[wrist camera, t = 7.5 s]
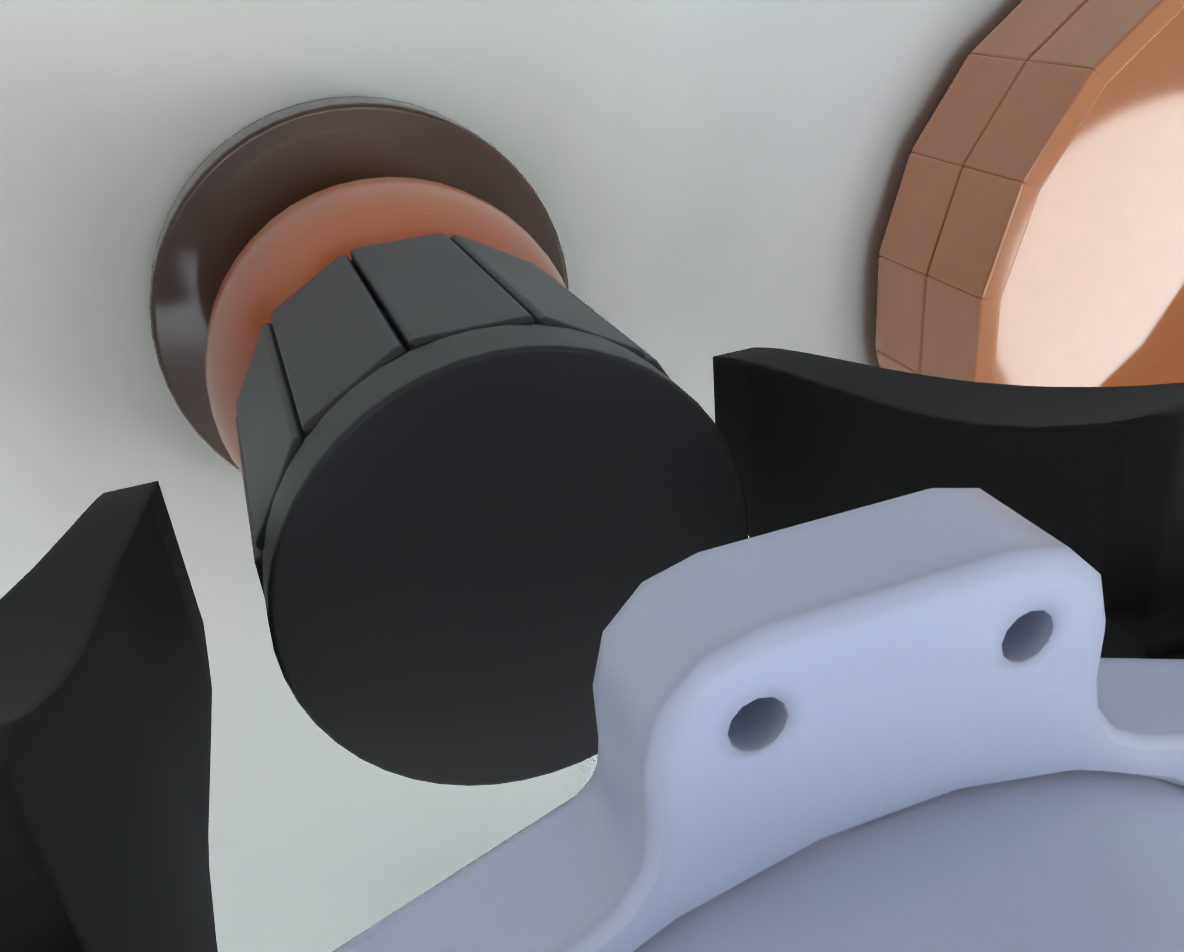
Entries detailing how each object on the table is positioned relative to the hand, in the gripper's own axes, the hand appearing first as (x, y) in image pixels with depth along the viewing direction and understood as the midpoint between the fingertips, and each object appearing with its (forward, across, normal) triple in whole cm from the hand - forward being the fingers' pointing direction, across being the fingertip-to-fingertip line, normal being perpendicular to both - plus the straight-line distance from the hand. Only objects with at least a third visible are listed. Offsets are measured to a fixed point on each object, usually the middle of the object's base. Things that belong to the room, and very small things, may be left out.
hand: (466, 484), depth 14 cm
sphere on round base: (+8, 0, 0) cm, 8 cm away
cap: (+2, 0, 0) cm, 2 cm away
